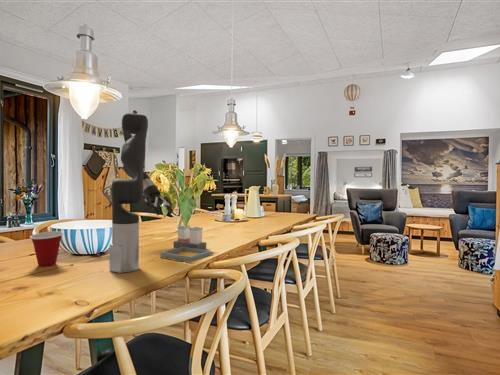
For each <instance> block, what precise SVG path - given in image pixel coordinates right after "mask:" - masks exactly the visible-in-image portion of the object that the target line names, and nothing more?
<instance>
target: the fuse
mask: <svg viewBox="0 0 500 375" xmlns="http://www.w3.org/2000/svg"><path fill="white" fill-rule="evenodd" d="M202 242H203V227H201V226H200V227H199V226H194V227H190V243H192V244H200V243H202Z"/></svg>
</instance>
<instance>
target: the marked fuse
mask: <svg viewBox="0 0 500 375" xmlns="http://www.w3.org/2000/svg"><path fill="white" fill-rule="evenodd" d="M190 228H191V226H190V225H179V226H177V241H178V242H189V241H190Z"/></svg>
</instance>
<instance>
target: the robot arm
mask: <svg viewBox="0 0 500 375" xmlns="http://www.w3.org/2000/svg"><path fill="white" fill-rule="evenodd" d="M148 127H149V120H148V117H147V116H146V115H145V114H141V113H134V112H133V113H132V112H131V113H130V112H126V113H123V115H122V118H121V132H122V135H123V140H124V144H123V145H122V147H121V151H120V152H121V153H120V161H121V163H122V169H123V172H124V173H125V174H126V175H127V176H128V177H130V178H115V179H112V182H111V189H110V190H111V214H112V215H111V223H112V224H111V227H112V228H111V243H110V244H109V272H114V273H119V274H122V273H130V272H134V271H137V270H139V267H140V264H139V262H140V260H139V259H140V257H139V256H140V253H139V252H140V216H139V214H137V213H135V212H131V211H129V210H127V209H126V208H124V207H123V206H122V205H137V204H140V203H142V202H144V204H145V206H146V207H147V209H148V210H153V212H154V213H155V214H156V215H157V216H159V215H161V210H160V208H158V206H161V207H163V208H166V210H167V212H168V213H169V214H170V215H171V214H173V213H174V209H173V208H172V205H173V203H172V201H171V200H170V199H169V198H168V196H167V195H165V196H162V195H161V191H160V189H159V188H158V187H157V185H156V184H155V182H154V181H153V180H152V179H151V177H150V176H149V174H148V173H147V172H145V171H144V170H145V168H146V167H145V161H146V160H145V159H146V144H147V143H146V142H147V133H148V129H149V128H148ZM144 197H145V198H144ZM143 199H144V200H143Z"/></svg>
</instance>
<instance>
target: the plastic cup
mask: <svg viewBox="0 0 500 375" xmlns="http://www.w3.org/2000/svg"><path fill="white" fill-rule="evenodd" d="M63 234H64V233H63V232H62V231H56V230H55V231H54V230H53V231H45V232H39V233H34V234H32V235H30V236H29V238H30V239H31V241H32V244H33V246H34V247H33V248H34V252H35V257H36V262H37V264H38V267H42V268H43V267H51V266H55V265H56V264H57V260H58V255H59V250H60V245H61V240H62V236H63Z"/></svg>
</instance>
